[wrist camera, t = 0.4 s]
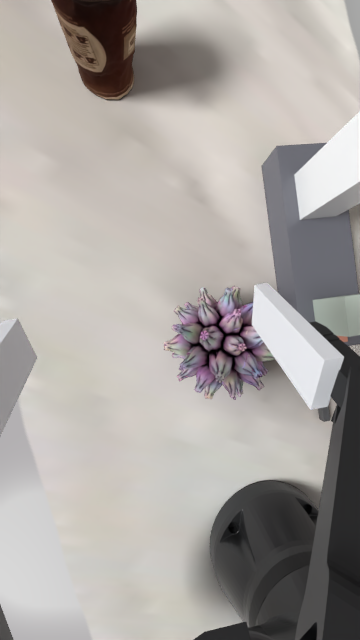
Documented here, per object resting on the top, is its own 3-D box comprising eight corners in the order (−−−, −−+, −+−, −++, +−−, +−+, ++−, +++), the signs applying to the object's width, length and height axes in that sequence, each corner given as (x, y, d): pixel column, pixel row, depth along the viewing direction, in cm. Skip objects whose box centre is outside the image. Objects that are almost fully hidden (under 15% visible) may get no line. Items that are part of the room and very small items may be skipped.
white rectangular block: (328, 220, 33) (424, 168, 21) (293, 223, 32) (373, 172, 21) (323, 177, 32) (416, 103, 21) (288, 180, 32) (365, 105, 21)
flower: (222, 401, 34) (262, 446, 22) (143, 350, 33) (141, 369, 21) (269, 325, 35) (334, 329, 23) (194, 273, 33) (220, 248, 21)
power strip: (349, 412, 36) (380, 427, 31) (294, 423, 35) (318, 440, 30) (318, 161, 35) (345, 137, 30) (261, 165, 34) (280, 141, 29)
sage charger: (347, 328, 32) (385, 330, 27) (316, 333, 31) (349, 336, 26) (343, 295, 31) (380, 291, 26) (312, 300, 31) (344, 296, 26)
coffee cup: (102, 125, 32) (72, -7, 19) (53, 68, 31) (-13, -111, 18) (157, 82, 32) (164, -73, 20) (110, 25, 32) (86, -175, 19)
